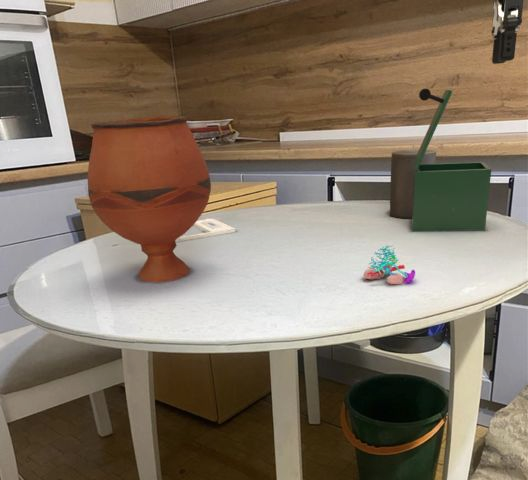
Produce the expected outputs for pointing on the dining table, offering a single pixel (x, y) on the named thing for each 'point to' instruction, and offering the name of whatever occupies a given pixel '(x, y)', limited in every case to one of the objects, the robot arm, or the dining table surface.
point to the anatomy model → (388, 269)
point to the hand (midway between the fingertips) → (502, 62)
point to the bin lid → (426, 95)
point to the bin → (450, 197)
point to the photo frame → (208, 229)
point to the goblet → (149, 187)
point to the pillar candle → (405, 180)
